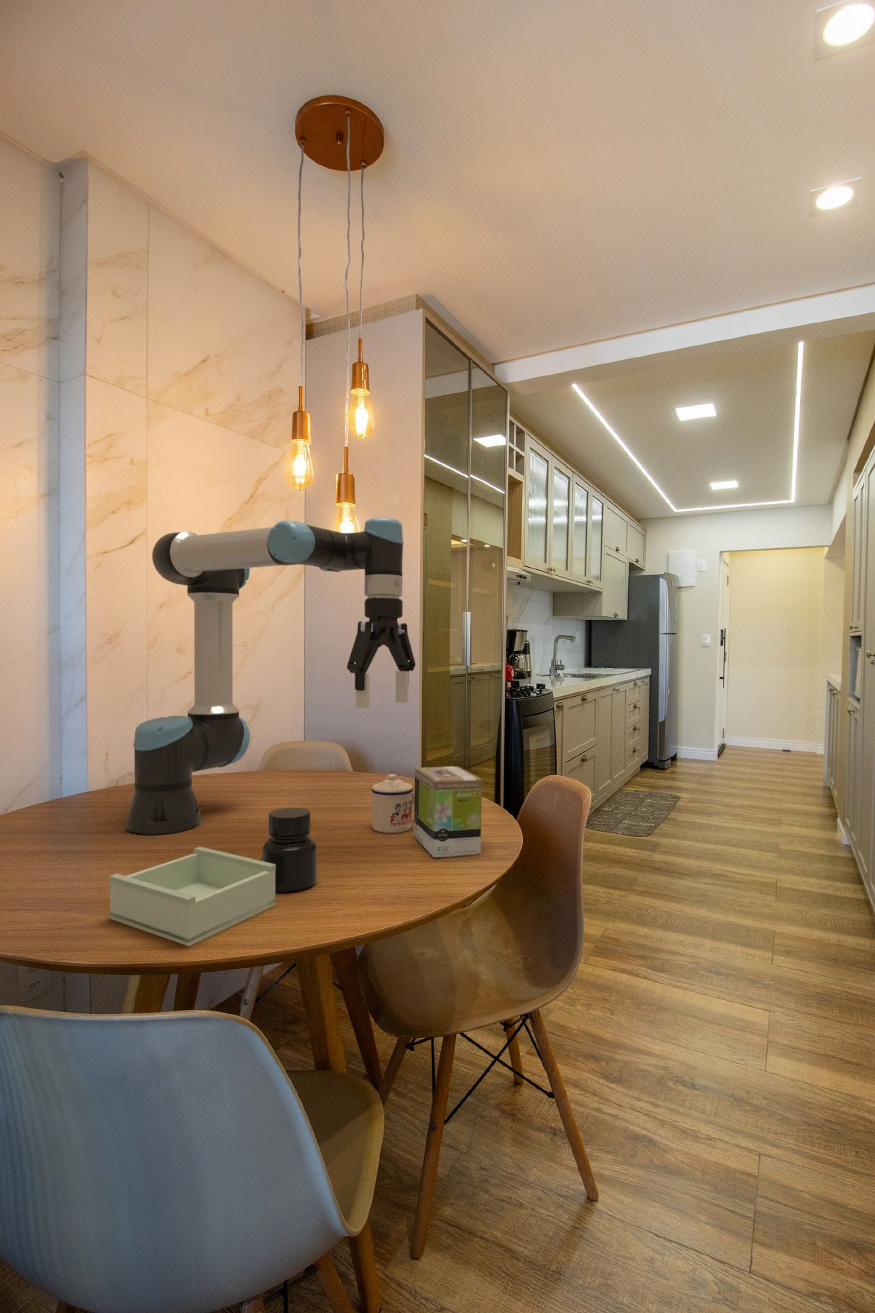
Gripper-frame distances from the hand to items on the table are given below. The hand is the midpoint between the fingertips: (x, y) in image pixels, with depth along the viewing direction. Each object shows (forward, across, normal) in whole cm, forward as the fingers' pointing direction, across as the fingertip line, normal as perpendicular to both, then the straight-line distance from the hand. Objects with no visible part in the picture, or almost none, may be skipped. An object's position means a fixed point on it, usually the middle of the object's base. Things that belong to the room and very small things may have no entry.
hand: (383, 705), depth 131 cm
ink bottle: (+28, -25, +1) cm, 38 cm away
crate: (+28, -41, +5) cm, 50 cm away
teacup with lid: (+28, +13, +5) cm, 31 cm away
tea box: (+28, +7, -11) cm, 31 cm away
